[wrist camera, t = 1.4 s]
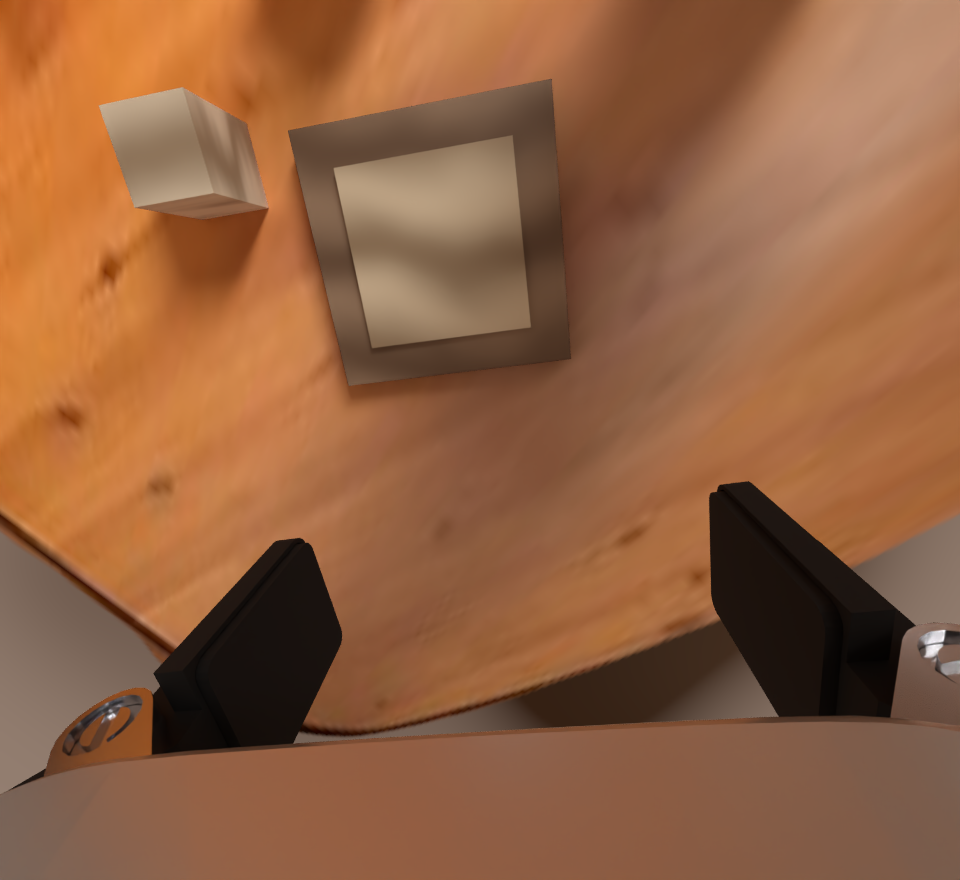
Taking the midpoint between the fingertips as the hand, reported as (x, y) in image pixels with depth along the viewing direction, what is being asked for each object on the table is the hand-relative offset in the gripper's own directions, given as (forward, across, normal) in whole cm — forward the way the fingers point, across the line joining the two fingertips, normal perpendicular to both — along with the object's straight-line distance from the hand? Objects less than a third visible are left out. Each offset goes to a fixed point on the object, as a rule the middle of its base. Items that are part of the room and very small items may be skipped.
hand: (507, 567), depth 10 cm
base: (+24, +4, -9) cm, 26 cm away
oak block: (+24, +17, -16) cm, 34 cm away
